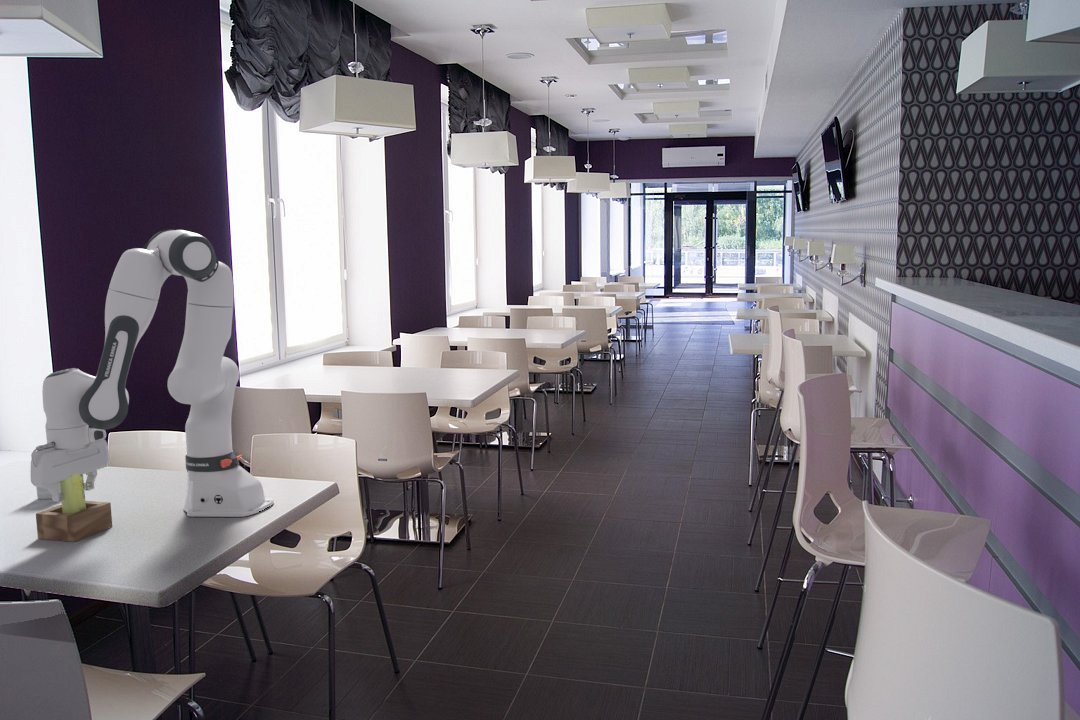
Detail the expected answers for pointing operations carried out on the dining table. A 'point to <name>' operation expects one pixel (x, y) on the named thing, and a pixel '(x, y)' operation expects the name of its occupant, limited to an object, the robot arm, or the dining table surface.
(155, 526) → the dining table surface
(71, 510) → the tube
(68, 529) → the wooden box
